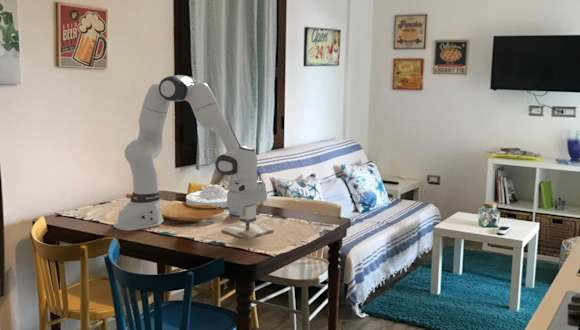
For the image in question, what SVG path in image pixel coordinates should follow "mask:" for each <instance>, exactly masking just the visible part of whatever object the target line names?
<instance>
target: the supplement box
mask: <svg viewBox="0 0 580 330" xmlns="http://www.w3.org/2000/svg"><path fill="white" fill-rule="evenodd" d="M228 209H229V211H228V213H229V214H228V215H229V216H232V217H239V218H240V215H239V211H238V210H237V209H230V208H228Z"/></svg>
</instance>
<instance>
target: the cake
mask: <svg viewBox="0 0 580 330" xmlns="http://www.w3.org/2000/svg"><path fill="white" fill-rule="evenodd" d="M199 185H200V187H201V189H202V190H198V191H195V192H190V193H188V194H187V195H186V197H185V204H186V203H188V204H193V205H211V206H217V207H221V208H220V209H224V208H228V206H227V193H228V191H229V190H228V189H225V188H224V187H223V181H221V183H220V184H212V183H210V184H209V185H208V184H206V185H205V187H204V185H203V184H202V183H199Z"/></svg>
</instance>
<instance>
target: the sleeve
mask: <svg viewBox="0 0 580 330" xmlns="http://www.w3.org/2000/svg"><path fill="white" fill-rule="evenodd" d="M242 211H243V212H244V213H245V216H244V217H240V216H239V222H242V223H254V222H256V221H257V209H256V205H249V206H245V207H243V209H242Z"/></svg>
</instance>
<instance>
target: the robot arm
mask: <svg viewBox="0 0 580 330" xmlns="http://www.w3.org/2000/svg"><path fill="white" fill-rule="evenodd" d="M183 101H186V102H188V103H189V106H191V109H192V112H193V115H194V117H195V119H196V121H197V122H198V124H199V125H200V126H201V127H203V128H204V129H207V130H211V131H213V132H215V133H216V134H217V135H218V136H219V137H220V139H221V141H222V143H223V145H224V147H225V149H226V152H225V153H222V154H220V155H218V156H217V158H215V162H214V166H215V169H216V171H217V172H218V174H219V175H221V176H233V175H235V176H236V179H235V180H234V181H232V182H231V183H229V184H228V185H227V187H226V188H227V189H226V190H229V191H228V193H227V206H228V207H227V208H228V209H229V208H230V209H237V210H238V211H239V215H240V216H239V218H240V217H244V216H245V213H244V212H243V211H242V209H243V207H245V206H249V205H256V210H257V209H258V206H259V204H261V203H265V202H266V201H267V199H268V197H267V196H268V194H267V187H266V183H265V182H264V181H263V180H259V181H258V173H257V169H258V157H257V151H256V150H255V148H253V147H252V146H249V145H241V144H240V142H239V140H238V138H237V135H235V132H234V130H233V128H232V126H231V125H230V123H229V122H228V120H227V118H226V117H225V115H224V114H223V112H222V110H221V108H220V105H219V103H218V101H217V98H216V96H215V95H214V93H213V91H212V90H211V87H209V85H208V84H207V83H205V82H201V81H200V82H197V81H196V79H194V78H193V77H192V76H190V75H186V74H185V75H183V74H177V75H169V76H166V77H164V78H163V79H162V80H160V82H159V83H154V84H151V85H150V86H149V88H148V90H147V93H146V94H145V97H144V100H143V103H142V107H141V110H140V114H139V119H138V127H139V130H138V131H139V133H138V137H137V138H136V139H132V140H131V141H130V142H129V143H128V144H127V145H126V147H124V148H125V149H124V151H123V152H124V158H125V159H126V161H127V162H128V164H129V168H130V170H131V175H132V186H133V187H132V188H133V192H132V193H131V194H130V193H126V195H125V197H126V199H129V202H128V203H127V204H126V205H125V206H124V207H122V208H121V210H120V211H119V213H118V216H117V221H115V222H113V224H112V226H113V227H114V228H115V229H117V230H121V231H126V232H131V231H136V230H143V229H149V228H153V227H159V226H162V223H163V222H164V218H163V215H162V211H161V205H160V199H161V197H160V189H159V175H158V172H157V171H156V168H155V164H154V159H156V158H157V157H158V156H160V154H161V153H162V151H163V148H164V147H163V146H164V145H163V133H164V127H165V123H166V120H167V114H168V112H169V108H170V104H171V103H172V102H183Z"/></svg>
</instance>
